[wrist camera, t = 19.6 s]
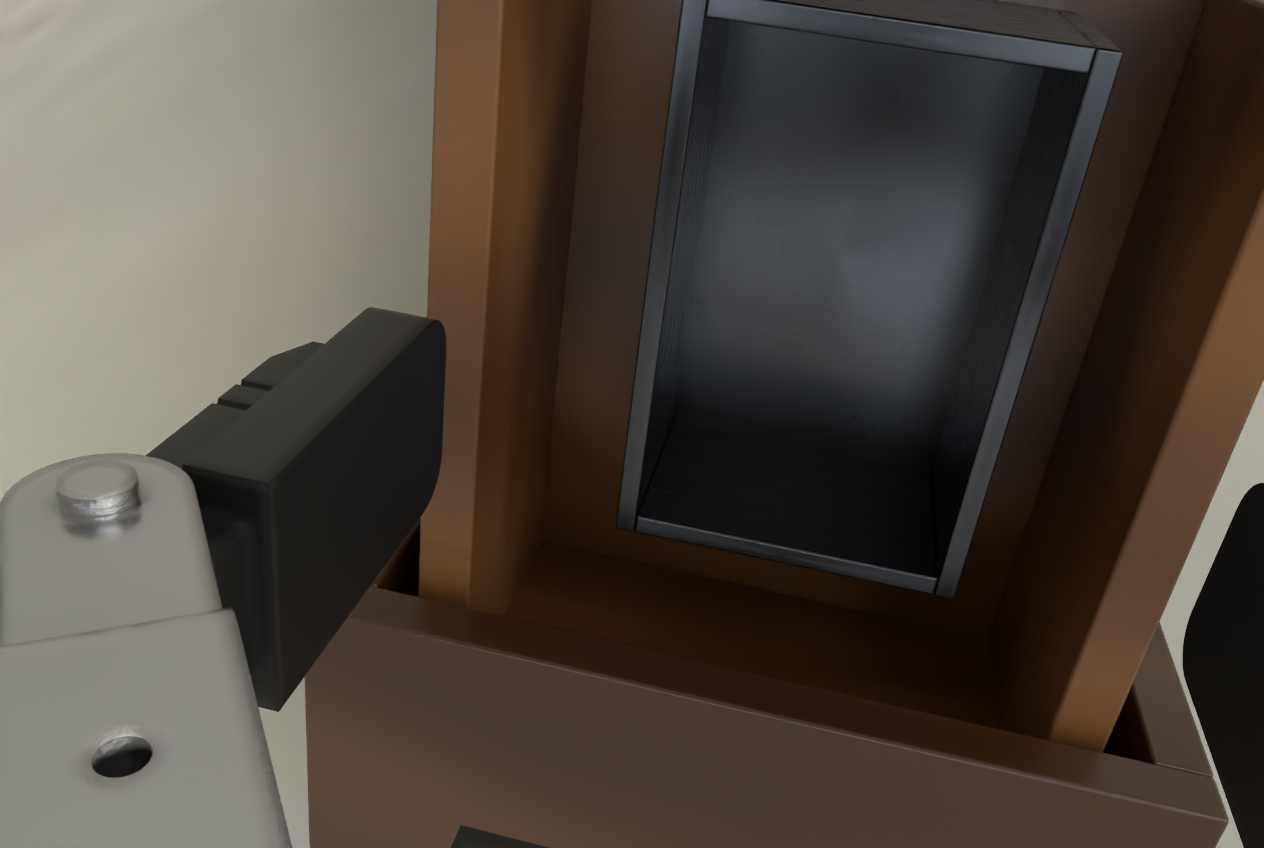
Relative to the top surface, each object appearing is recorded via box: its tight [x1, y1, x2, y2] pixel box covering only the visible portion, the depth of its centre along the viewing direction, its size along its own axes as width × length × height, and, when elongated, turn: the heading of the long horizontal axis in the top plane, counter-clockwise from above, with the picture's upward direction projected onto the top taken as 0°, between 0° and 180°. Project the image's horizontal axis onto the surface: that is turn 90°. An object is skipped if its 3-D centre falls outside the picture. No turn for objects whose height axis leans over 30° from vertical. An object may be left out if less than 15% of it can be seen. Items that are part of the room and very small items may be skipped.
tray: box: [615, 0, 1123, 599], centre depth 16 cm, size 5×8×4 cm, turn 173°
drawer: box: [418, 0, 1264, 752], centre depth 15 cm, size 19×11×6 cm, turn 173°
